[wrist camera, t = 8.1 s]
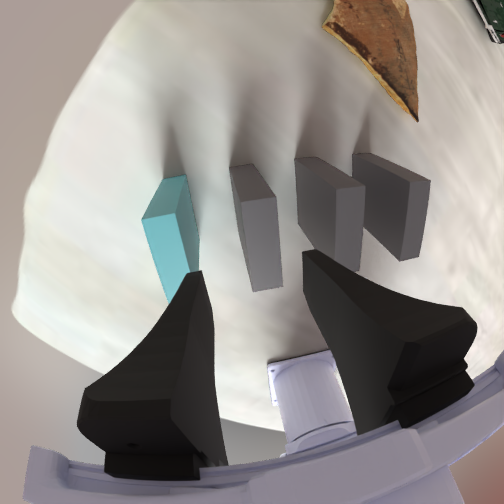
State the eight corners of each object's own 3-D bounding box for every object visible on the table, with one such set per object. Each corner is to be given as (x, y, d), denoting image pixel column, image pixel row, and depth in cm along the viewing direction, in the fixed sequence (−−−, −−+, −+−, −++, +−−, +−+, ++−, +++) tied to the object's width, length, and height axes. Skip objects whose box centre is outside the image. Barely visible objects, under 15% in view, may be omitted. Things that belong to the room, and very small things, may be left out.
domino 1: (185, 174, 18) (175, 213, 12) (199, 239, 21) (198, 300, 15) (163, 179, 18) (141, 219, 12) (178, 243, 21) (169, 305, 15)
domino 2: (252, 164, 18) (276, 196, 12) (260, 230, 21) (282, 286, 15) (228, 167, 18) (240, 202, 12) (238, 233, 21) (252, 292, 15)
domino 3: (316, 156, 19) (365, 186, 13) (317, 220, 21) (359, 270, 15) (294, 158, 19) (336, 189, 13) (298, 223, 21) (333, 276, 15)
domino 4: (370, 153, 19) (430, 180, 13) (368, 213, 22) (418, 256, 16) (352, 154, 19) (410, 182, 13) (351, 215, 22) (399, 261, 16)
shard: (407, 120, 18) (421, 123, 17) (323, 115, 18) (333, 116, 16) (398, 1, 13) (411, -3, 11) (311, -18, 12) (320, -27, 11)
